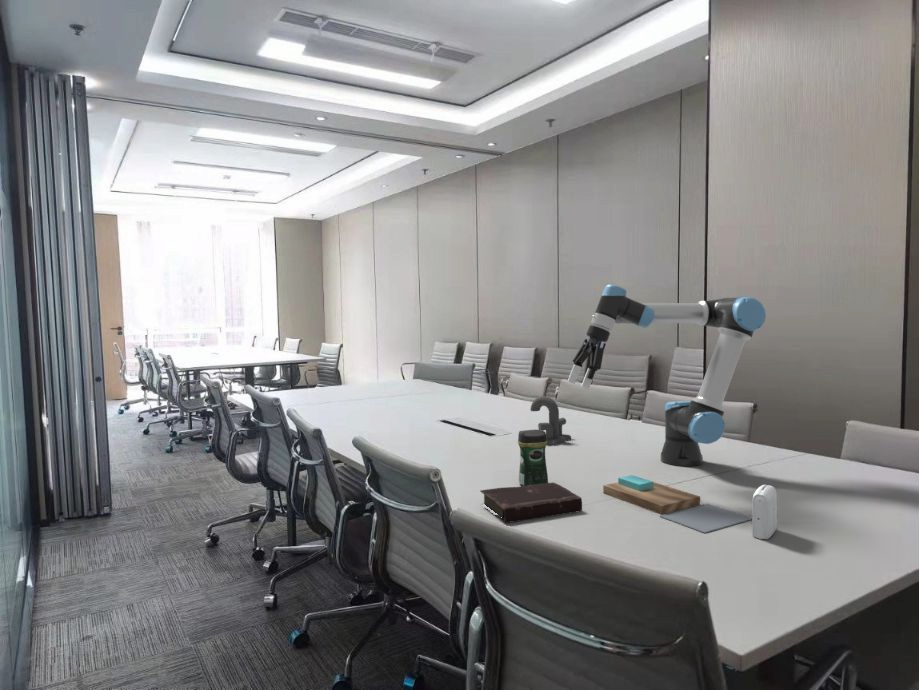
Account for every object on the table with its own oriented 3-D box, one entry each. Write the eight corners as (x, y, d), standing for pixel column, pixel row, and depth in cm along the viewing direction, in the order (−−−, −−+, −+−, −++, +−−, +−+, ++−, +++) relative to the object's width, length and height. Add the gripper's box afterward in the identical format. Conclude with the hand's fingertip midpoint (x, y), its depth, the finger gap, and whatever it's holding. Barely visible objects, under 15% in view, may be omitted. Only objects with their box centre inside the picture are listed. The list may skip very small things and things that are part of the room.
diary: (582, 514, 175) (582, 497, 174) (504, 526, 166) (504, 508, 166) (551, 495, 192) (551, 480, 192) (479, 505, 184) (478, 489, 183)
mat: (707, 504, 179) (707, 503, 178) (753, 519, 165) (753, 518, 165) (659, 516, 169) (659, 515, 169) (704, 533, 156) (704, 532, 156)
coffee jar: (542, 480, 208) (542, 426, 207) (550, 486, 200) (550, 431, 199) (515, 482, 206) (515, 428, 205) (522, 488, 198) (522, 433, 197)
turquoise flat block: (632, 481, 196) (632, 475, 195) (653, 487, 188) (653, 481, 188) (618, 484, 193) (618, 477, 193) (639, 491, 185) (639, 484, 185)
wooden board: (639, 485, 199) (639, 477, 199) (700, 504, 178) (700, 496, 178) (603, 493, 192) (603, 485, 192) (661, 514, 171) (661, 505, 171)
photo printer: (768, 541, 150) (769, 492, 149) (750, 537, 152) (750, 489, 152) (778, 529, 158) (779, 483, 157) (760, 526, 160) (761, 480, 160)
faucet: (540, 434, 283) (540, 392, 282) (571, 438, 274) (571, 394, 273) (521, 442, 269) (520, 397, 268) (553, 446, 260) (552, 400, 258)
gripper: (578, 323, 220) (556, 377, 220) (605, 325, 195) (581, 385, 195) (596, 330, 221) (574, 384, 221) (625, 333, 197) (601, 394, 197)
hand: (577, 385), depth 208 cm, fingers open, 13 cm apart
